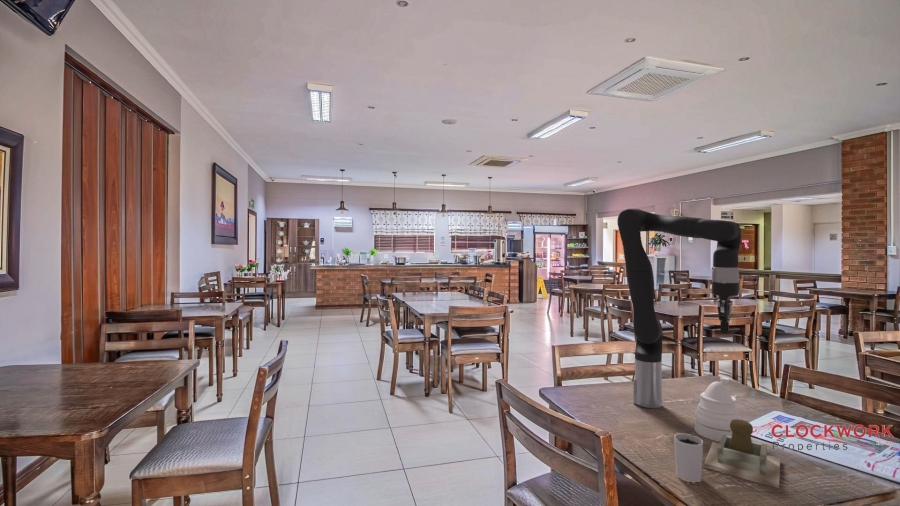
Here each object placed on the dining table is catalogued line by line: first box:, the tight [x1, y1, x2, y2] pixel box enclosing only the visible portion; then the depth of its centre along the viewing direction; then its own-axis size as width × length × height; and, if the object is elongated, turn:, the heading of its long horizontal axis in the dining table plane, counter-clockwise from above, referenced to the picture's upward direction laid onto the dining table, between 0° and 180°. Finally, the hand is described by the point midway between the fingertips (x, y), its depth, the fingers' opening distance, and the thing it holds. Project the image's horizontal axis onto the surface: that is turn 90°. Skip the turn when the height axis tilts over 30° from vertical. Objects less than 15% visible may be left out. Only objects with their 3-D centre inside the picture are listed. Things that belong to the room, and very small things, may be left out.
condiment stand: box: [703, 434, 781, 489], centre depth 115 cm, size 16×16×5 cm
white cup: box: [673, 432, 704, 482], centre depth 109 cm, size 7×7×10 cm
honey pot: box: [694, 376, 742, 442], centre depth 134 cm, size 13×13×18 cm
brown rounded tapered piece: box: [730, 418, 754, 455], centre depth 115 cm, size 6×6×11 cm
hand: (724, 332), depth 139 cm, fingers closed
